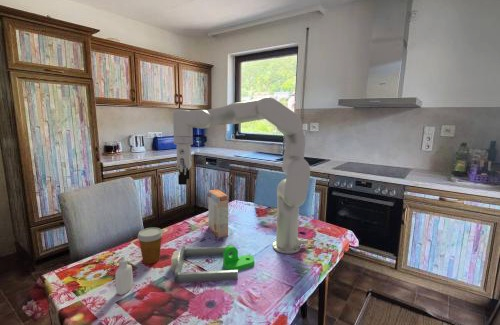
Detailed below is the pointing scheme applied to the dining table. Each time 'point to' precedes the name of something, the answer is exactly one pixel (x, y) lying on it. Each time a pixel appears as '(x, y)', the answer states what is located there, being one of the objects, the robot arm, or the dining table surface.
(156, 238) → the disposable coffee cup
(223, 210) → the cracker box
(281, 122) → the robot arm
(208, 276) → the drawer frame
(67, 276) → the dining table surface
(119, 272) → the eye dropper bottle
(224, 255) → the mechanical part
